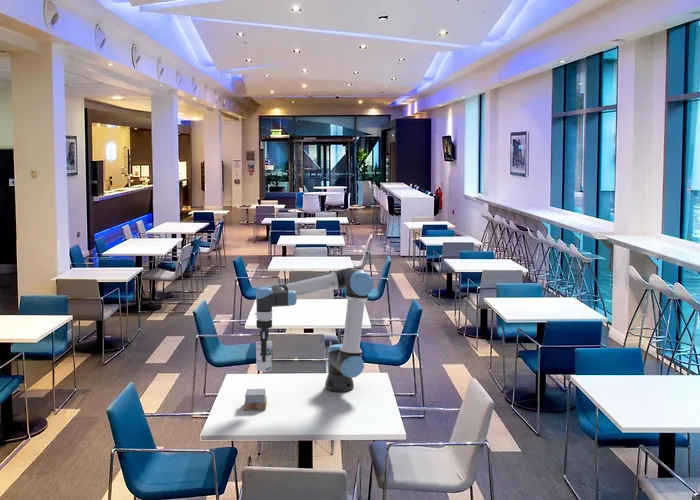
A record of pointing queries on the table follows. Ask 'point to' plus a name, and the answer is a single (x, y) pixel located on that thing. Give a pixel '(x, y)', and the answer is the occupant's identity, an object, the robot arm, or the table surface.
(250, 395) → the slate top block
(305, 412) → the table surface
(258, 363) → the syrup box
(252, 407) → the walnut base block
